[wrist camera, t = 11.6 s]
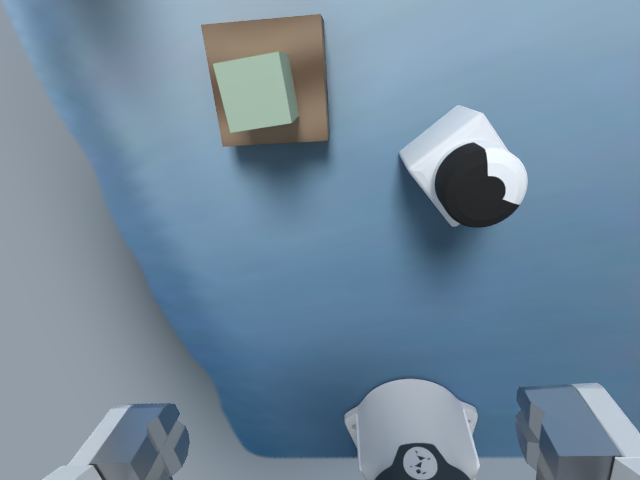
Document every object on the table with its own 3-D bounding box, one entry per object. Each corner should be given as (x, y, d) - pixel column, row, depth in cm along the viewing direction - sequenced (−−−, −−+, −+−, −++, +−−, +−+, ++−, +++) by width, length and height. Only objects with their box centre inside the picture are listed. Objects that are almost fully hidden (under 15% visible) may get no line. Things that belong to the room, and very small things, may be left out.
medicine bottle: (436, 202, 39) (470, 255, 28) (396, 151, 37) (416, 187, 26) (497, 159, 36) (559, 198, 26) (458, 102, 34) (507, 119, 24)
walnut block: (330, 133, 37) (327, 140, 33) (234, 138, 38) (222, 146, 34) (323, 20, 33) (320, 14, 29) (216, 29, 34) (201, 24, 30)
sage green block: (299, 115, 33) (291, 123, 28) (246, 123, 33) (230, 132, 29) (288, 53, 31) (278, 51, 26) (232, 64, 31) (212, 63, 27)
